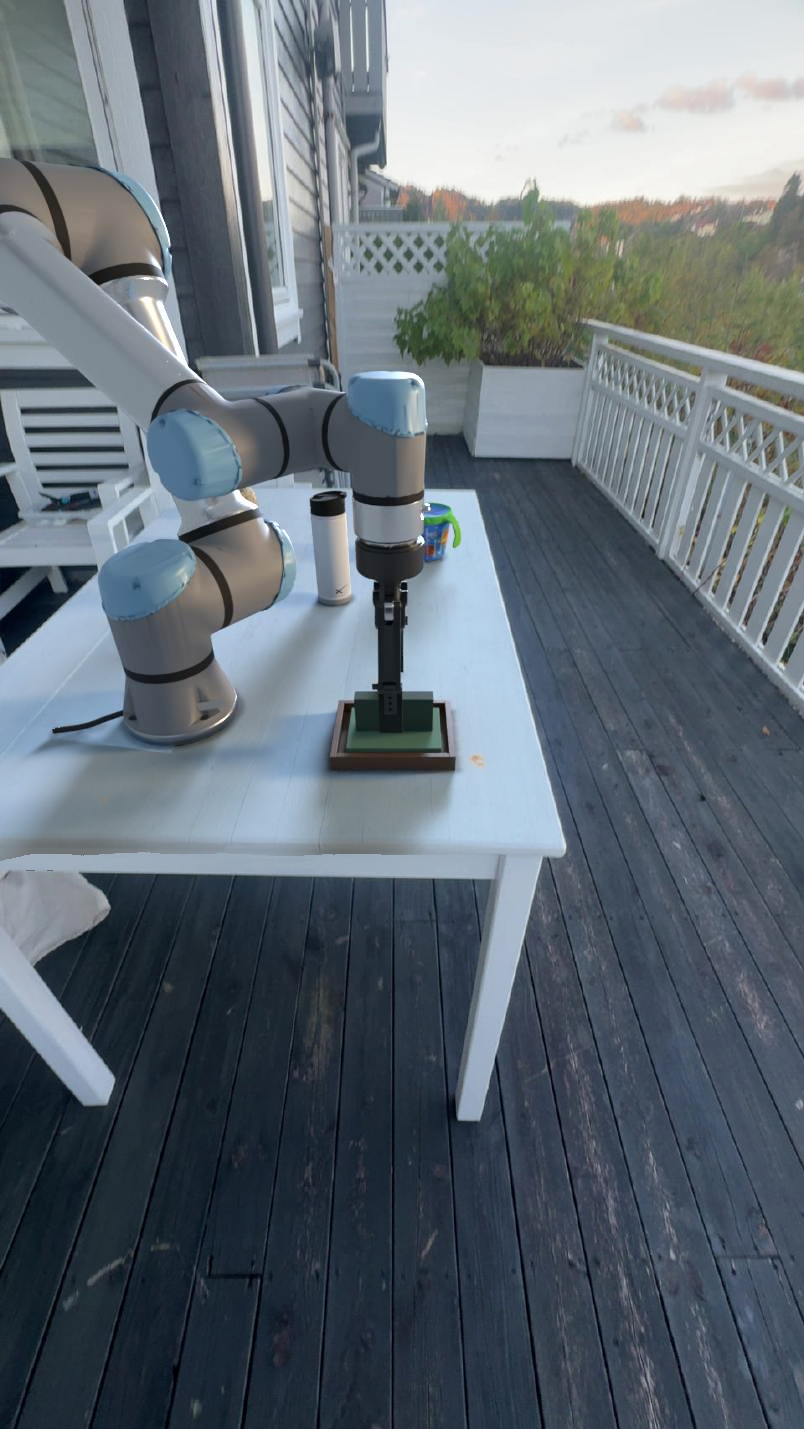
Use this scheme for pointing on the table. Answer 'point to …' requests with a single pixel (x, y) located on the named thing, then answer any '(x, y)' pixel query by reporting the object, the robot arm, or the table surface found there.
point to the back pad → (394, 739)
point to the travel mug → (331, 547)
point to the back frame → (392, 760)
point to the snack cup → (438, 530)
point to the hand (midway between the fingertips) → (392, 699)
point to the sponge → (249, 495)
